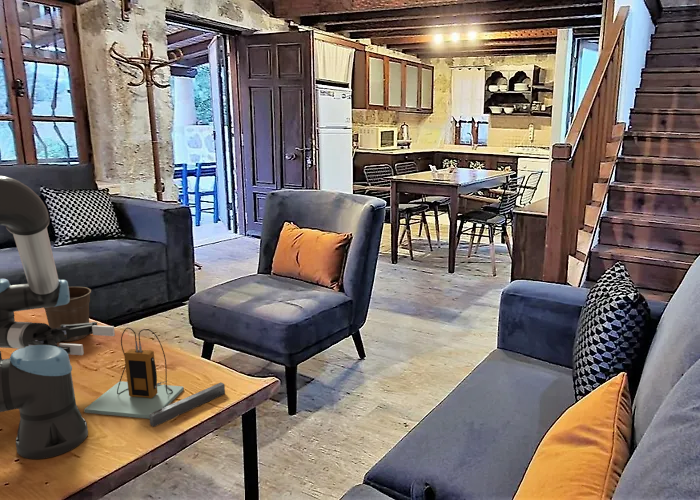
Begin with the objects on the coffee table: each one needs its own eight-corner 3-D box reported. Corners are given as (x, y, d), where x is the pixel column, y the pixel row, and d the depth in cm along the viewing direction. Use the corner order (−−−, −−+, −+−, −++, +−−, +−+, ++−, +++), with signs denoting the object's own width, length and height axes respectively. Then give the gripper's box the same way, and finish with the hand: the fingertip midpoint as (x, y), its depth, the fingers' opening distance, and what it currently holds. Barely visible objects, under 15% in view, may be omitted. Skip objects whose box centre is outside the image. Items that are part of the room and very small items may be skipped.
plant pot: (105, 333, 197) (100, 291, 194) (61, 348, 184) (55, 303, 181) (80, 324, 206) (75, 283, 203) (36, 338, 193) (30, 295, 190)
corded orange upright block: (182, 383, 157) (177, 317, 152) (165, 400, 148) (158, 330, 143) (135, 379, 160) (128, 315, 155) (116, 396, 150) (107, 327, 145)
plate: (154, 419, 140) (154, 415, 140) (84, 412, 144) (84, 409, 143) (183, 389, 155) (183, 386, 155) (119, 384, 159) (119, 381, 159)
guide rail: (153, 427, 136) (152, 416, 136) (150, 424, 137) (149, 414, 137) (225, 393, 153) (224, 384, 152) (221, 392, 154) (220, 382, 153)
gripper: (63, 332, 166) (126, 336, 162) (-3, 367, 142) (69, 372, 138) (60, 309, 164) (123, 312, 160) (-8, 339, 141) (65, 344, 137)
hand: (98, 340), depth 149 cm, fingers open, 13 cm apart
